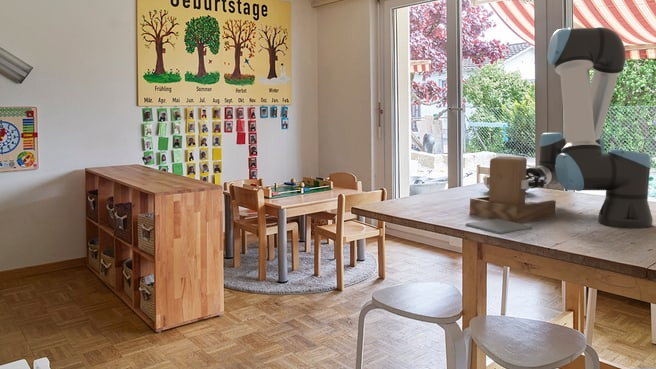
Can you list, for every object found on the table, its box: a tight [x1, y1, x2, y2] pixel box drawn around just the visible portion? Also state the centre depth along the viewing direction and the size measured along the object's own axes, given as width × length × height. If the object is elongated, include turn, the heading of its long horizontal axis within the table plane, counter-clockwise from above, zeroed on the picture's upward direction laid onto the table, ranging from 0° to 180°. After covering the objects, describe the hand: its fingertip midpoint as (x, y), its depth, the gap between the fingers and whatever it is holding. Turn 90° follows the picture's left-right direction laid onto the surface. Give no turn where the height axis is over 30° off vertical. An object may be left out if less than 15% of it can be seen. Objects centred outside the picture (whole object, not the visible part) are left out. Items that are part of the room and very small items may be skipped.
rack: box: [469, 195, 557, 224], centre depth 187 cm, size 19×20×6 cm
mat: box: [465, 219, 533, 235], centre depth 170 cm, size 14×14×1 cm
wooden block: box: [488, 155, 528, 206], centre depth 185 cm, size 10×10×20 cm
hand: (503, 182), depth 184 cm, fingers open, 13 cm apart
